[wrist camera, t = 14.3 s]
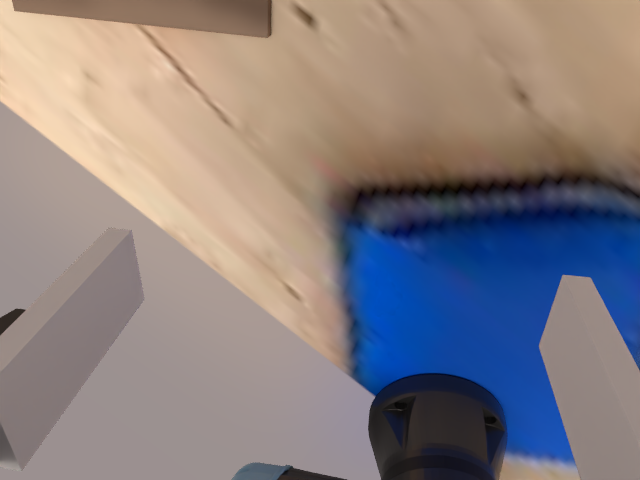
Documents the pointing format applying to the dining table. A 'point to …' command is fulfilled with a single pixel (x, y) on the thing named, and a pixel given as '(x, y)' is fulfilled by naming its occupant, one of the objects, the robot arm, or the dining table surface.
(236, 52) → the dining table surface
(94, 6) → the cup holder
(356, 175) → the dining table surface
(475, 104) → the dining table surface
